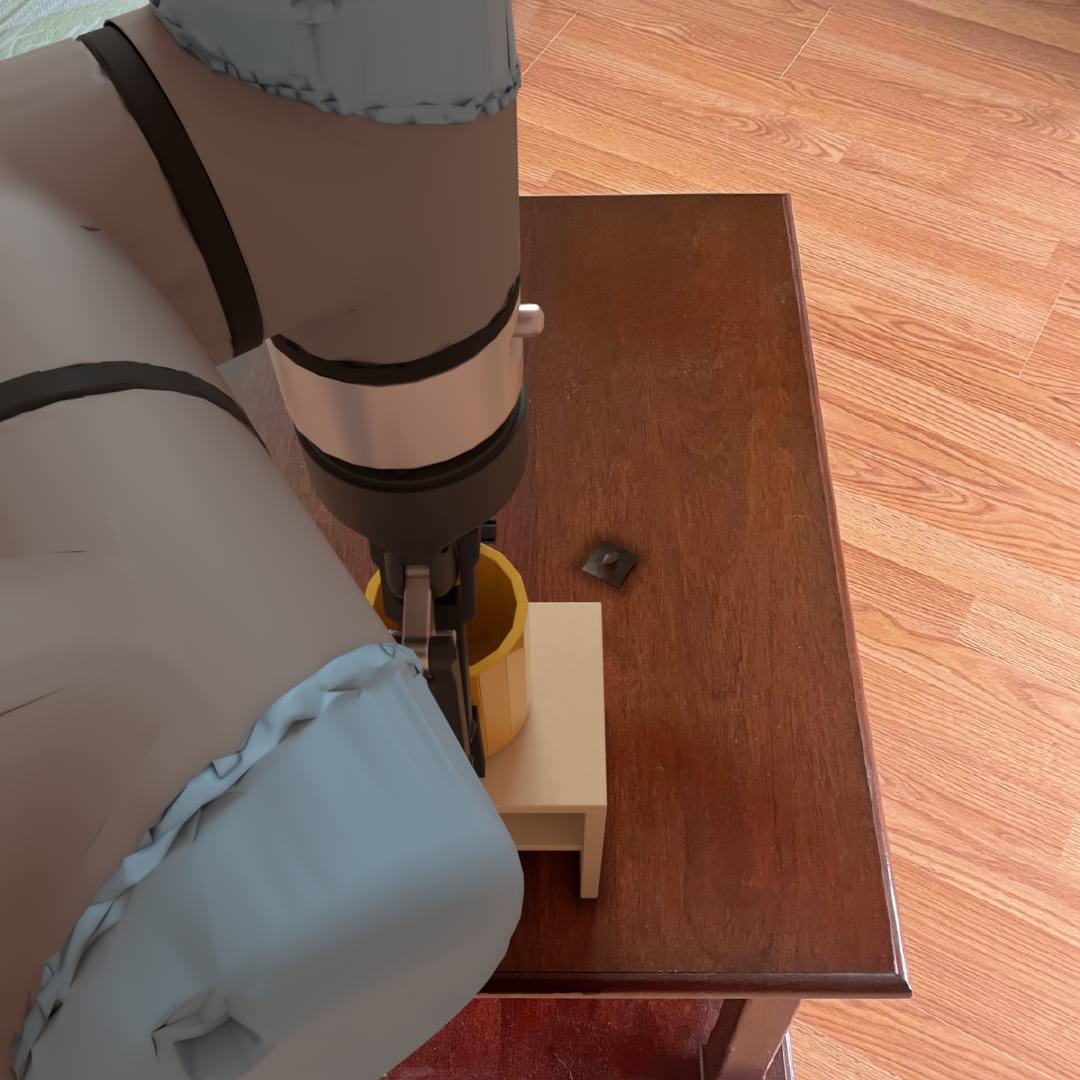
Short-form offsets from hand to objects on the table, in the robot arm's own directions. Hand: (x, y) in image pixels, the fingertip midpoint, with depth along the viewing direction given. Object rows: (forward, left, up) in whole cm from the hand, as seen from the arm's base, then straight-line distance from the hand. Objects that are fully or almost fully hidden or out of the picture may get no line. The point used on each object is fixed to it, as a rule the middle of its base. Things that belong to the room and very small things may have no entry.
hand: (460, 693), depth 54 cm
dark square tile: (+17, +9, -17) cm, 26 cm away
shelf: (0, 0, -17) cm, 17 cm away
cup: (0, 0, 0) cm, 0 cm away
